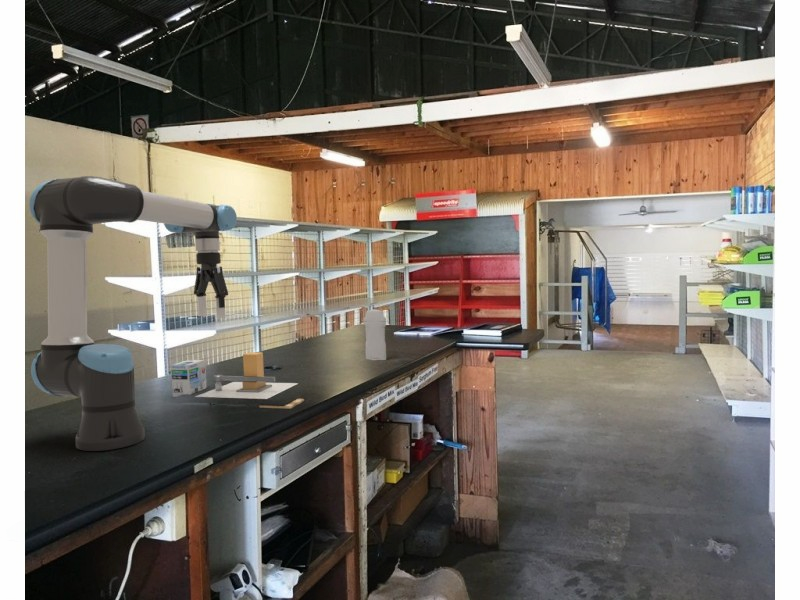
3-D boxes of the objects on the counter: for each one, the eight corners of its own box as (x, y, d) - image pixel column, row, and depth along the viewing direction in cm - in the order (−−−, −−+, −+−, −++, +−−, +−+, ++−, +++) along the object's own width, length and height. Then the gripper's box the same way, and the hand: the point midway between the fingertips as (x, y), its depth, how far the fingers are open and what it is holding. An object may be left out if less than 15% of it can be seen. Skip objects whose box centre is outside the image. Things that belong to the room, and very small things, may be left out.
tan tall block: (256, 391, 196) (254, 355, 195) (242, 391, 197) (241, 354, 197) (265, 387, 203) (264, 351, 202) (253, 386, 204) (251, 351, 203)
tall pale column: (389, 359, 262) (387, 309, 260) (385, 360, 258) (383, 309, 256) (367, 358, 266) (365, 308, 264) (363, 360, 262) (361, 309, 261)
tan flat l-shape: (290, 408, 175) (290, 406, 175) (259, 407, 178) (259, 405, 178) (304, 400, 185) (304, 398, 185) (274, 399, 188) (274, 397, 188)
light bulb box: (190, 397, 195) (189, 364, 194) (171, 397, 196) (170, 364, 195) (207, 390, 205) (206, 359, 204) (189, 390, 206) (188, 359, 206)
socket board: (267, 402, 185) (266, 388, 185) (195, 399, 191) (194, 387, 191) (298, 386, 208) (298, 374, 208) (233, 384, 214) (233, 373, 214)
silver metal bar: (272, 382, 193) (272, 377, 193) (211, 381, 199) (211, 376, 199) (276, 380, 196) (276, 375, 196) (216, 379, 202) (216, 374, 201)
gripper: (236, 250, 189) (240, 317, 190) (202, 252, 207) (206, 314, 209) (214, 251, 184) (218, 320, 185) (181, 253, 202) (184, 316, 204)
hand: (211, 317), depth 197 cm, fingers open, 13 cm apart
